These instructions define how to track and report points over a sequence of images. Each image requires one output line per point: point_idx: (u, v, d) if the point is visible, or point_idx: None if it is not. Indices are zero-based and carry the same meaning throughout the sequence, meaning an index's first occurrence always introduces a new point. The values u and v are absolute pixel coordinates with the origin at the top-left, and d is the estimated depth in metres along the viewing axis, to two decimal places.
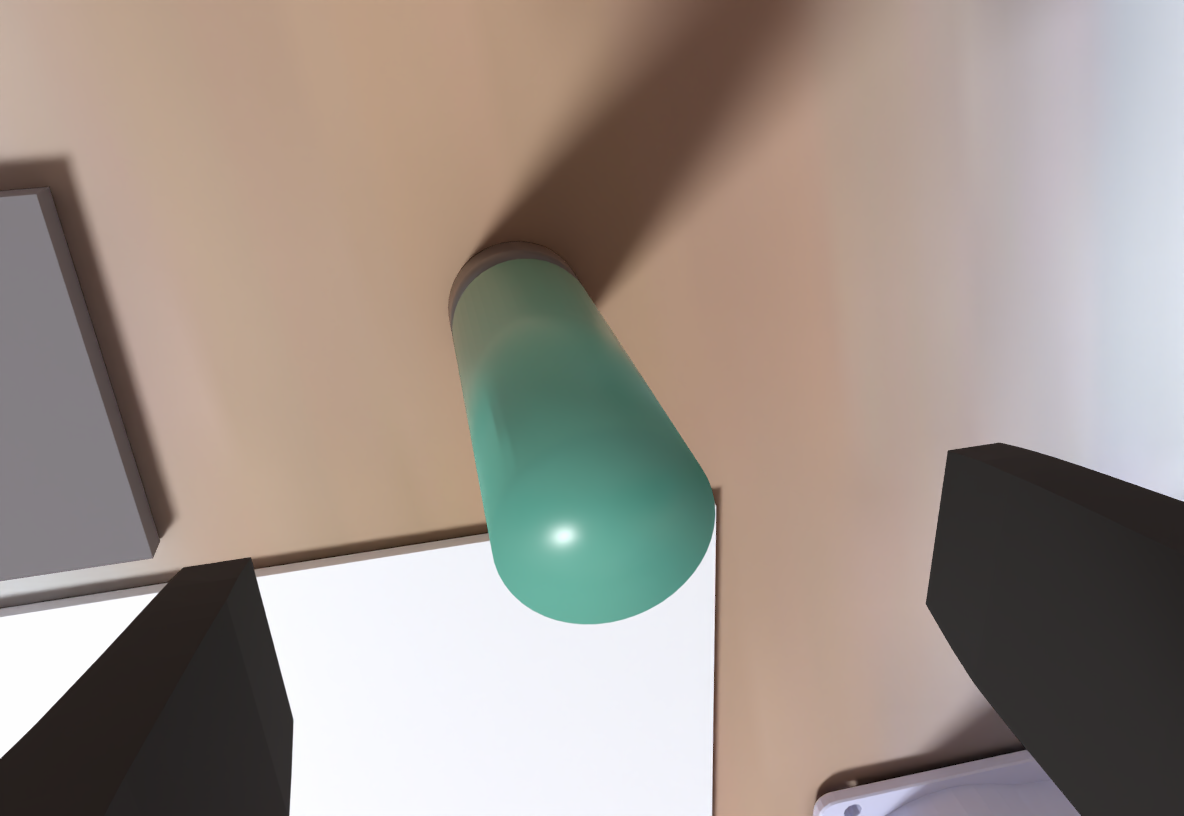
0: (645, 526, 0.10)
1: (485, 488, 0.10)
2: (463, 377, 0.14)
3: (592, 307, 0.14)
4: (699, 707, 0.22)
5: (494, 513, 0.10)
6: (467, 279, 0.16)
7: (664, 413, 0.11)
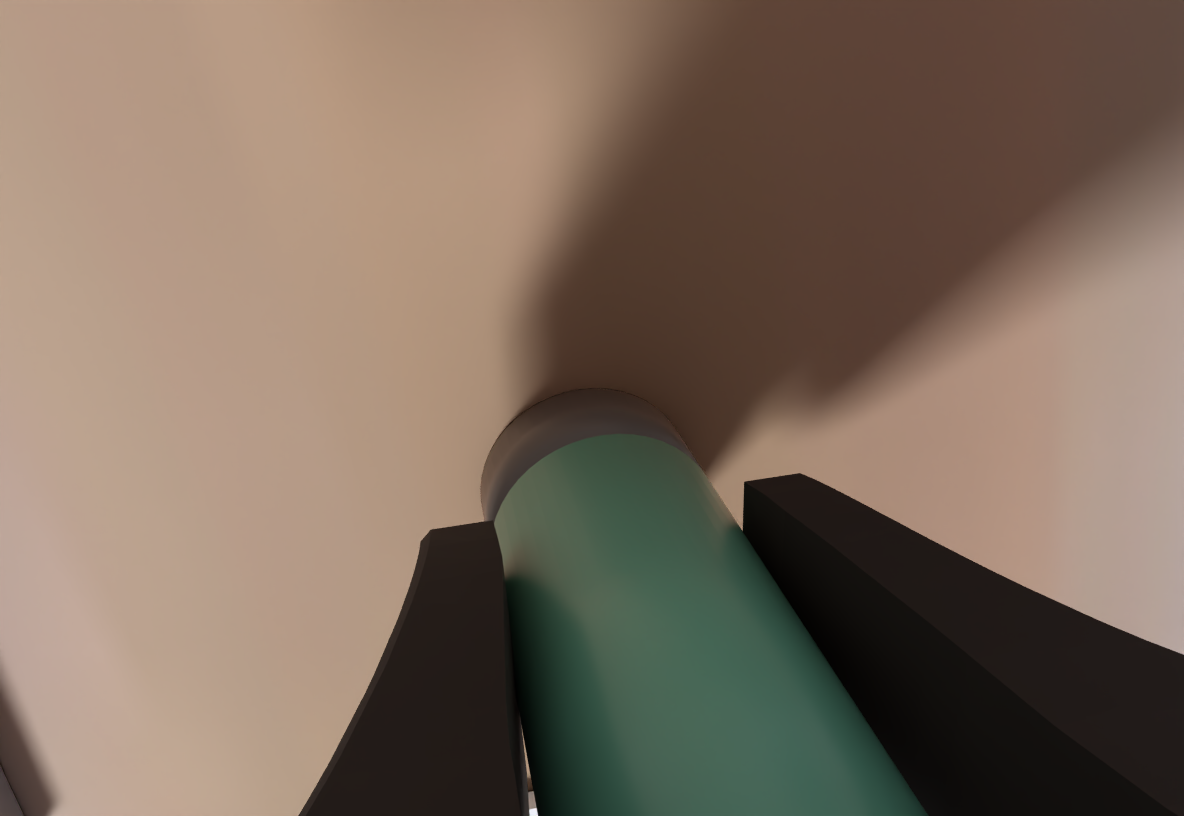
0: None
1: None
2: (523, 702, 0.07)
3: (749, 552, 0.08)
4: None
5: None
6: (515, 463, 0.10)
7: None
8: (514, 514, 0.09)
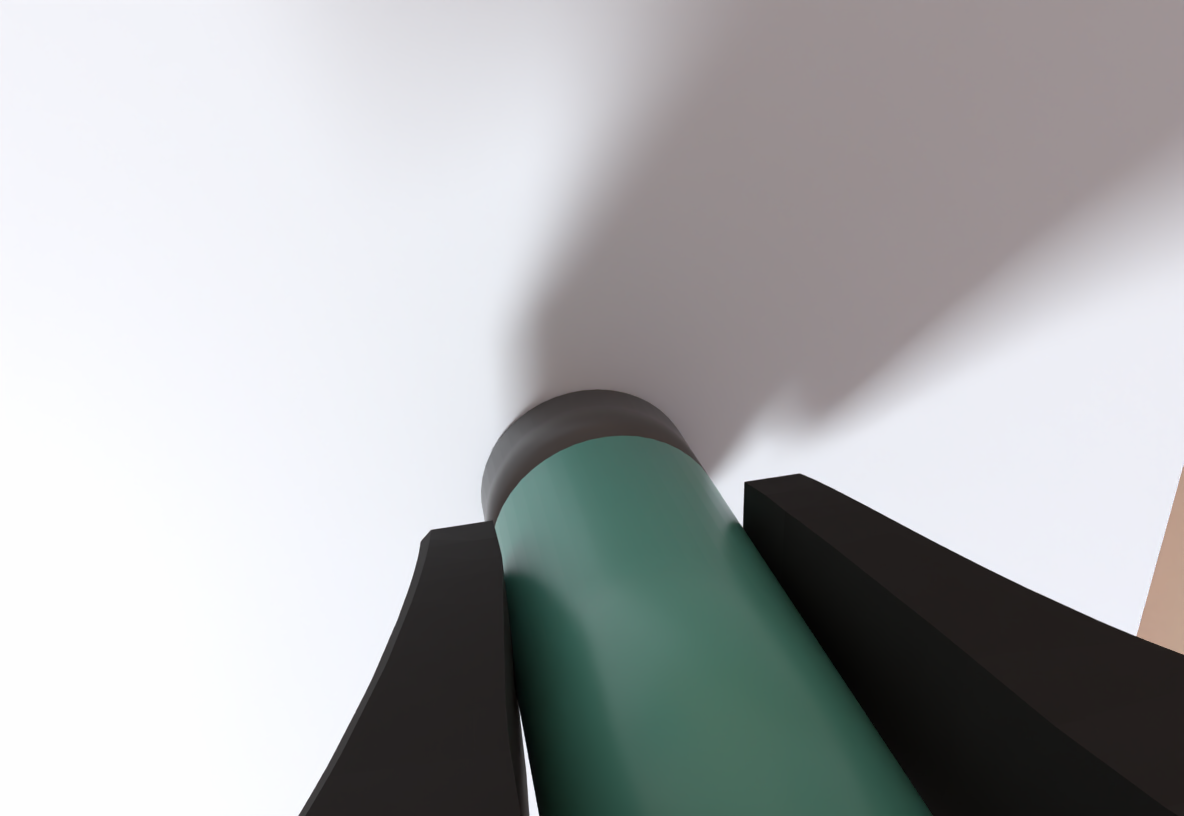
0: None
1: None
2: (526, 709, 0.07)
3: (755, 557, 0.08)
4: (1180, 393, 0.12)
5: None
6: (517, 464, 0.09)
7: None
8: (516, 516, 0.09)
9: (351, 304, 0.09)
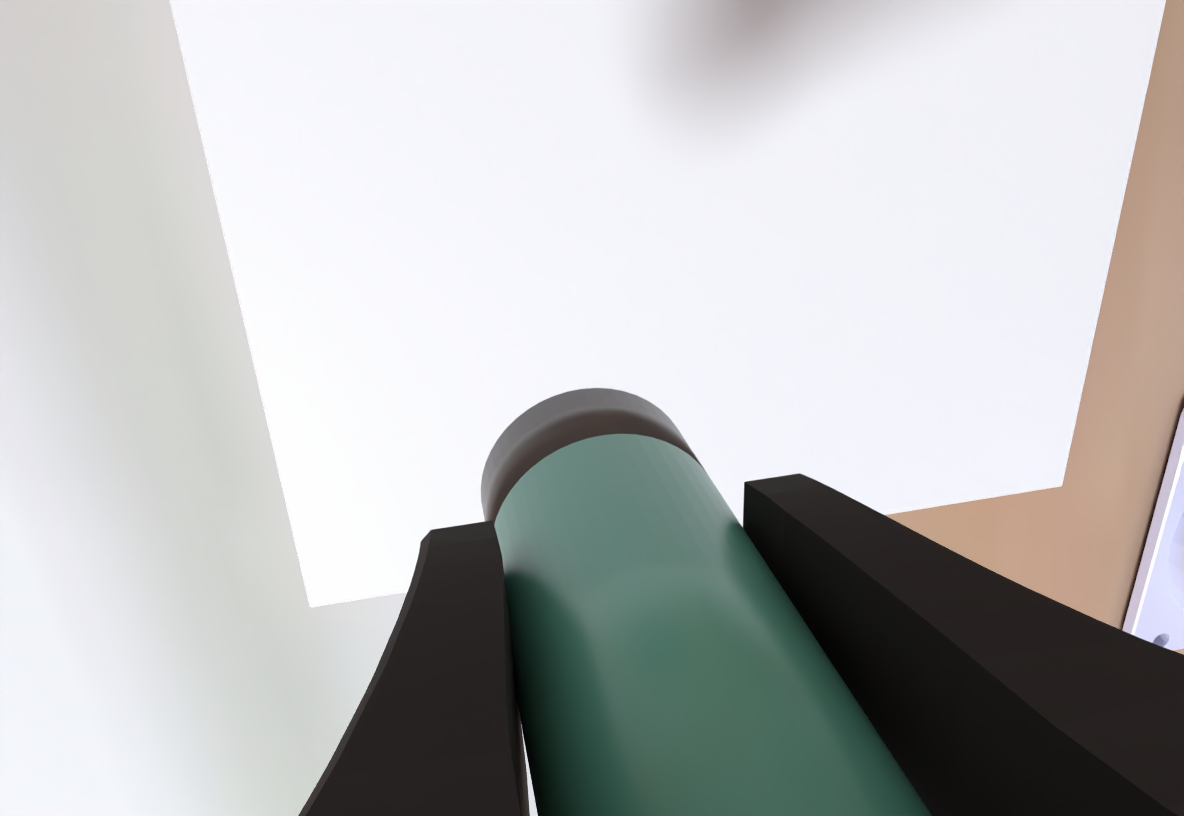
0: None
1: None
2: (524, 705, 0.07)
3: (754, 554, 0.08)
4: (1099, 244, 0.19)
5: None
6: (516, 462, 0.10)
7: None
8: (515, 514, 0.09)
9: (611, 165, 0.16)
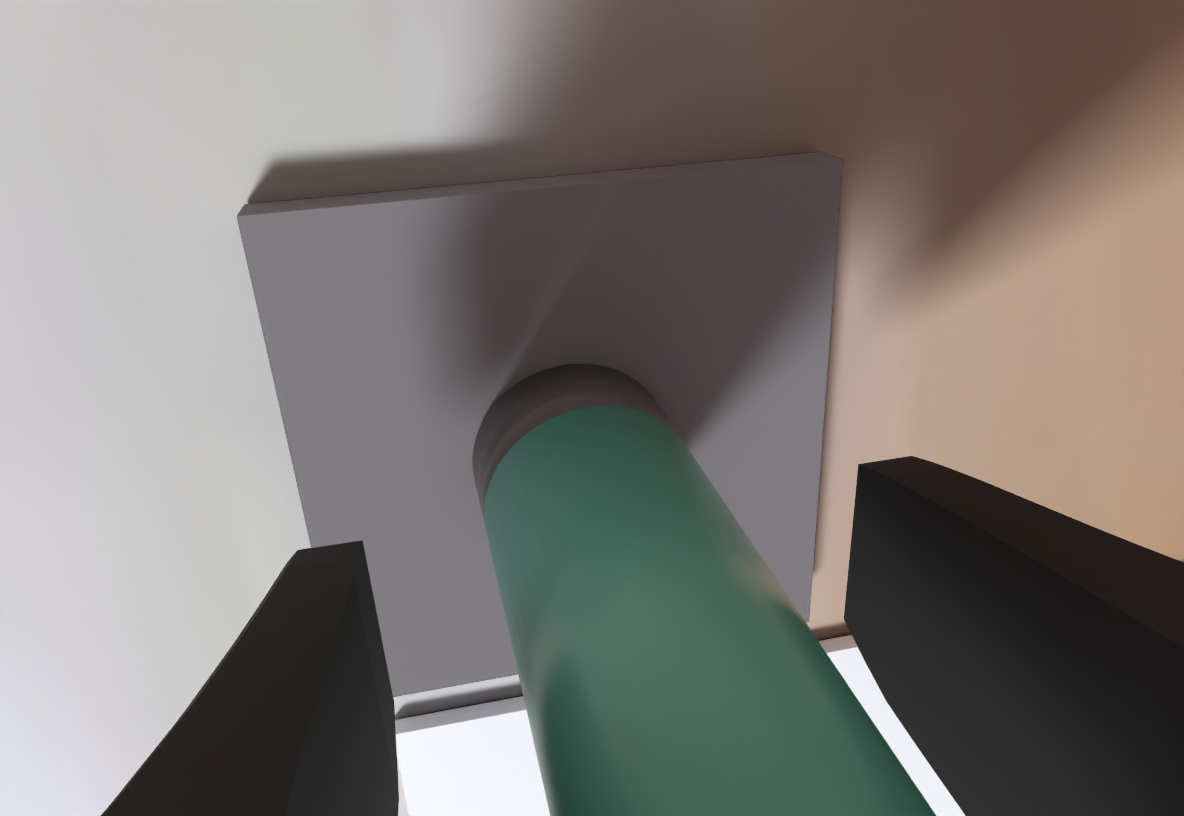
0: None
1: None
2: (520, 651, 0.08)
3: (726, 513, 0.09)
4: None
5: None
6: (507, 434, 0.10)
7: None
8: (507, 481, 0.10)
9: None
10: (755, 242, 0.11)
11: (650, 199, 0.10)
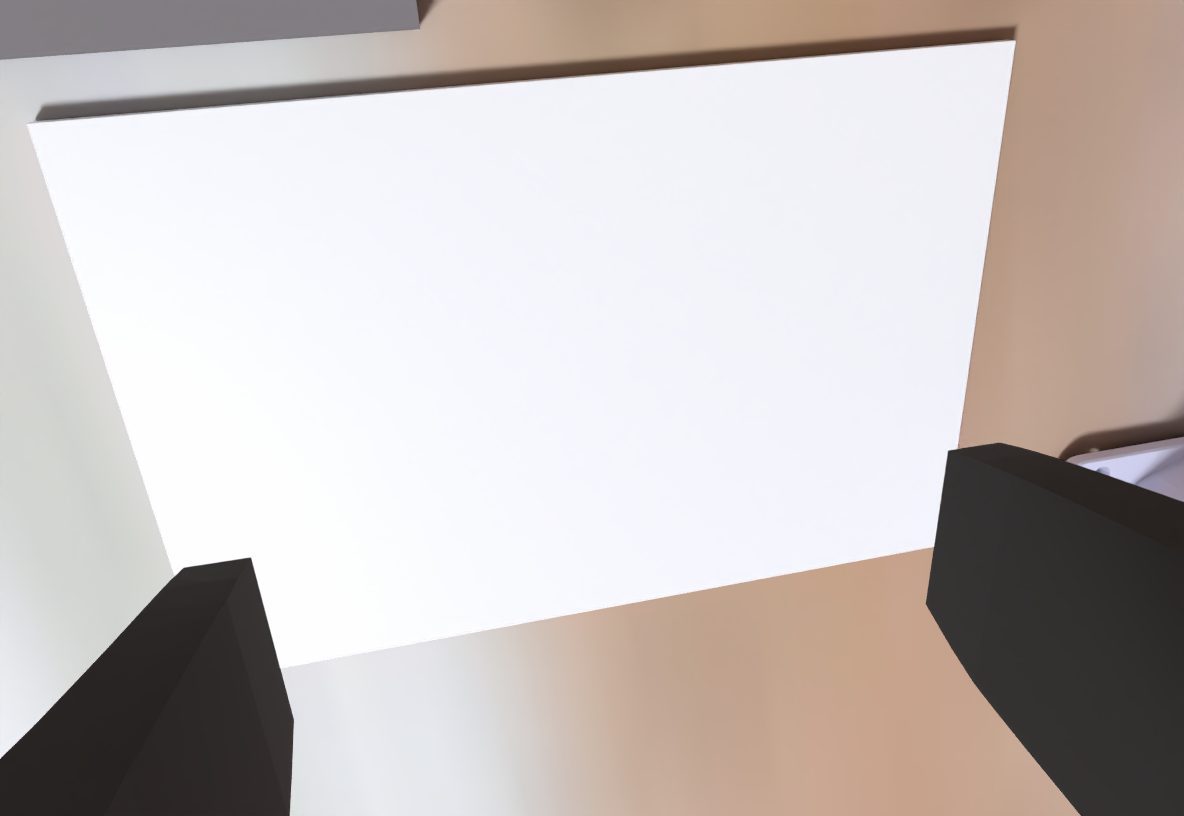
0: None
1: None
2: None
3: None
4: (961, 322, 0.20)
5: None
6: None
7: None
8: None
9: (474, 268, 0.17)
10: None
11: None
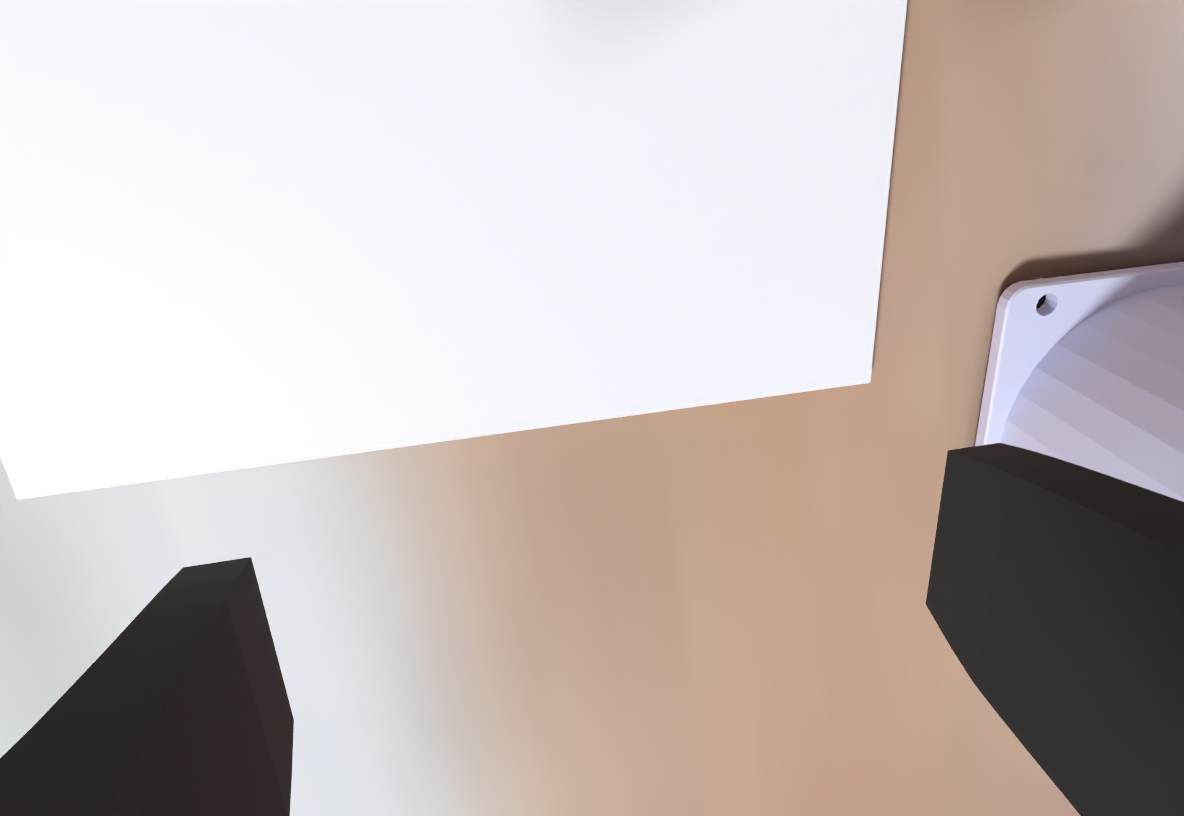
0: None
1: None
2: None
3: None
4: (880, 102, 0.18)
5: None
6: None
7: None
8: None
9: None
10: None
11: None
